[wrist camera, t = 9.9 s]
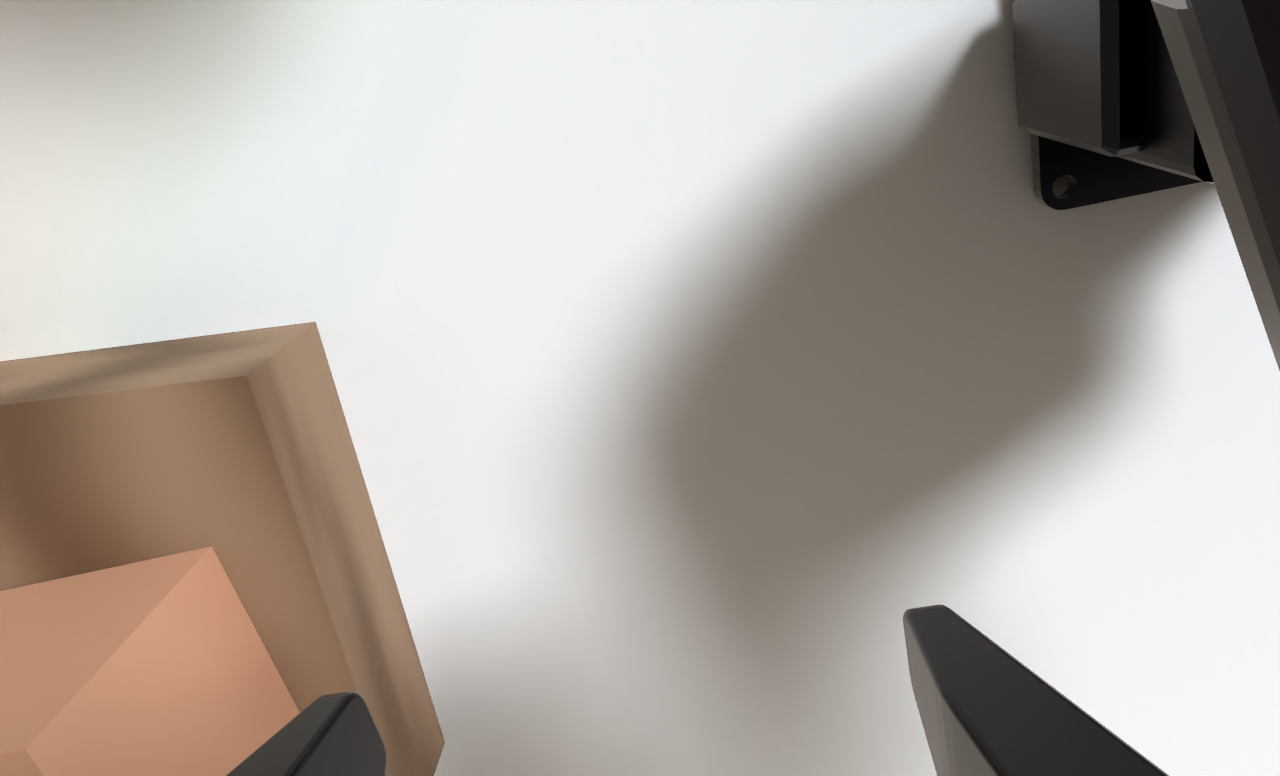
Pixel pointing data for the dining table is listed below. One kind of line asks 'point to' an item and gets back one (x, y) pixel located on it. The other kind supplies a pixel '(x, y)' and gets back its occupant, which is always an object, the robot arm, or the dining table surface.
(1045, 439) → the dining table surface
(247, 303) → the dining table surface
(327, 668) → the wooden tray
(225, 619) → the terracotta cube
